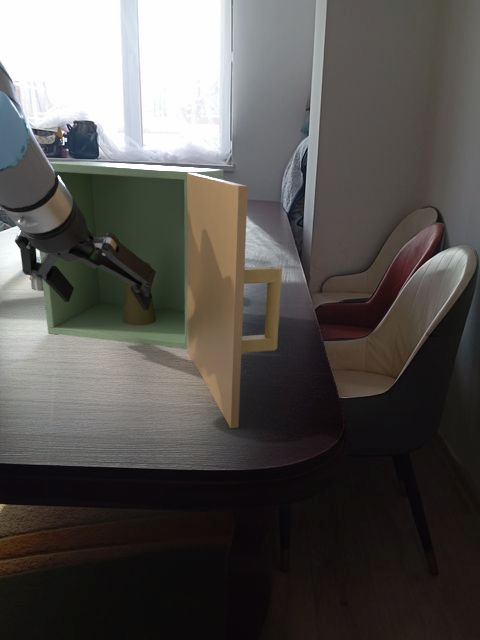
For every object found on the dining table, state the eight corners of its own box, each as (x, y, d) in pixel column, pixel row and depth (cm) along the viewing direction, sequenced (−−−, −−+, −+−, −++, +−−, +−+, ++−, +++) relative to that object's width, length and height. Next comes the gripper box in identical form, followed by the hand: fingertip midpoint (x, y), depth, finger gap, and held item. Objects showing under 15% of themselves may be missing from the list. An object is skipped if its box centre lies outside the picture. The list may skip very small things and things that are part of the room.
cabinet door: (224, 348, 87) (228, 174, 77) (279, 422, 64) (295, 187, 54) (187, 351, 85) (187, 172, 75) (230, 428, 62) (238, 185, 52)
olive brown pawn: (160, 317, 98) (159, 260, 94) (148, 326, 93) (146, 266, 89) (130, 314, 99) (128, 257, 95) (117, 323, 94) (113, 263, 90)
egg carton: (29, 290, 116) (26, 272, 114) (33, 282, 122) (31, 265, 121) (79, 289, 118) (77, 272, 117) (80, 281, 125) (79, 265, 124)
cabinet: (191, 350, 86) (191, 171, 76) (47, 333, 90) (30, 161, 80) (220, 319, 103) (223, 169, 93) (97, 306, 107) (87, 161, 97)
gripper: (-57, 228, 64) (29, 311, 83) (131, 245, 60) (176, 327, 79) (-33, 182, 67) (45, 272, 86) (148, 195, 63) (187, 286, 82)
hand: (108, 299), depth 83 cm, fingers open, 13 cm apart
